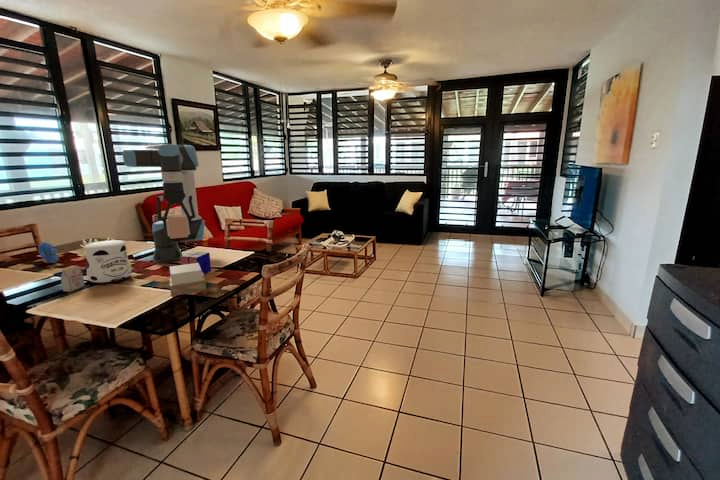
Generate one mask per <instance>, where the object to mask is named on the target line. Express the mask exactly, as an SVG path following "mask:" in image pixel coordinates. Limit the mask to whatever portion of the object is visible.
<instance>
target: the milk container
mask: <svg viewBox="0 0 720 480" xmlns="http://www.w3.org/2000/svg"><path fill="white" fill-rule="evenodd" d="M84 252H85V257H86V258H85V259H86V262H87V269H86V275H87V278H88V280H89V281H90V282H91V283H94V284H102V285H103V284H111V283H117V282H121V281H122V280H125V279H127V278H129V277H131V275H132V264H131V262H130V261H129V258H128V257H129V255H128V250H127V246H126V242H125V241H124V240H120V239H119V240H118V239H114V240H113V239H112V240H100V241H95V242H90V243H88V244H86V245H85V246H84Z"/></svg>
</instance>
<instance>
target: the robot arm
mask: <svg viewBox="0 0 720 480" xmlns="http://www.w3.org/2000/svg"><path fill="white" fill-rule="evenodd" d="M122 159H123V163H124V165H125V166H126V167H130V168H160V173H161V181H163V183H162V189H163V194H162V195H159V196H156V198H155V199H156V202H157V221H155V222H154V223H152V225H151V228H152V231H151V232H152V236H153V242H154V243H153V244H154V250H153V251H154V252H153V255H152V262H153V264H157V265H158V264H159V265H165V264H166V265H167V264H173V263H179V262H181V261H180V256H182V255H183V253H182V251H181V248H180V247H179V243H180V242H181V243H182V242H196V241H197V242H198V241H203V240H204V237H205V225H206V224H205V222H206V221H205V220H204V219H202V216H200V215H199V210H198V200H197V190H196V183H195V182H196V180H195V172H196V171H197V168H198V167H199V166H200V164H199V159H198V154H197V151H196V148H195V147H194V145H191V144H173V143H172V144H171V143H161V144H160V143H159V144H155V145H150V146H147V147H145V148H124V149H123V150H122ZM163 200H165V201H166V202H167V205H166V207H165V211H164V215H163V217H162V202H163ZM175 204H177V205H180V212H181V214H180V215H182V214H186V221H187V229H188V237H184V238H172V239H170V235H169V227H168V219H167V217H168V215H169V211H170V209H171V205H175Z"/></svg>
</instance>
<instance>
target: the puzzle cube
mask: <svg viewBox="0 0 720 480" xmlns="http://www.w3.org/2000/svg"><path fill="white" fill-rule="evenodd" d="M210 255H211V254H210V252H206V251H204V252H203V251H194V250H193V251H190V252H188V253H186V254H182V256H180V261H179V262H180V265H186V264H193V263H199V265H200V268H201V271H202V272H203V275H205V274H207V273H209V272H210V271H211V272H212V267H211V265H212V264H211V257H210Z"/></svg>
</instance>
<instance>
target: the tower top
mask: <svg viewBox="0 0 720 480" xmlns="http://www.w3.org/2000/svg"><path fill="white" fill-rule="evenodd" d="M169 273H170V276H171V281H172V285H178V284H184V283H190V282H197V281H203V280H202V271H201V268H200V265H199V263H193V264H186V265H181V264H180V265H172V266H169Z"/></svg>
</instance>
